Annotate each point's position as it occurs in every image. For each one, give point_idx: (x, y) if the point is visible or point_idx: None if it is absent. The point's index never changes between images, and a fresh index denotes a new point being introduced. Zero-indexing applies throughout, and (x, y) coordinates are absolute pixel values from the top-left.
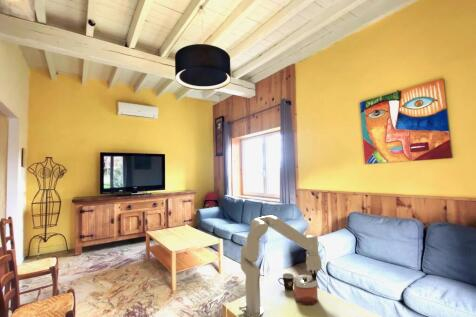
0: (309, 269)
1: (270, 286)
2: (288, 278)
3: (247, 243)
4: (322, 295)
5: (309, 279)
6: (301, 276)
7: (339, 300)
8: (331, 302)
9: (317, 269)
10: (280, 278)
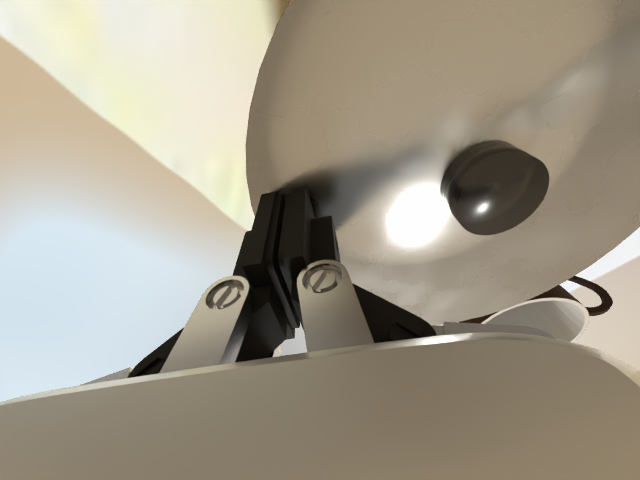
0: (623, 367)
1: (582, 276)
2: (557, 296)
3: None
4: (228, 159)
5: (390, 197)
6: (467, 289)
7: (62, 64)
8: (145, 20)
9: (117, 382)
10: (599, 308)
